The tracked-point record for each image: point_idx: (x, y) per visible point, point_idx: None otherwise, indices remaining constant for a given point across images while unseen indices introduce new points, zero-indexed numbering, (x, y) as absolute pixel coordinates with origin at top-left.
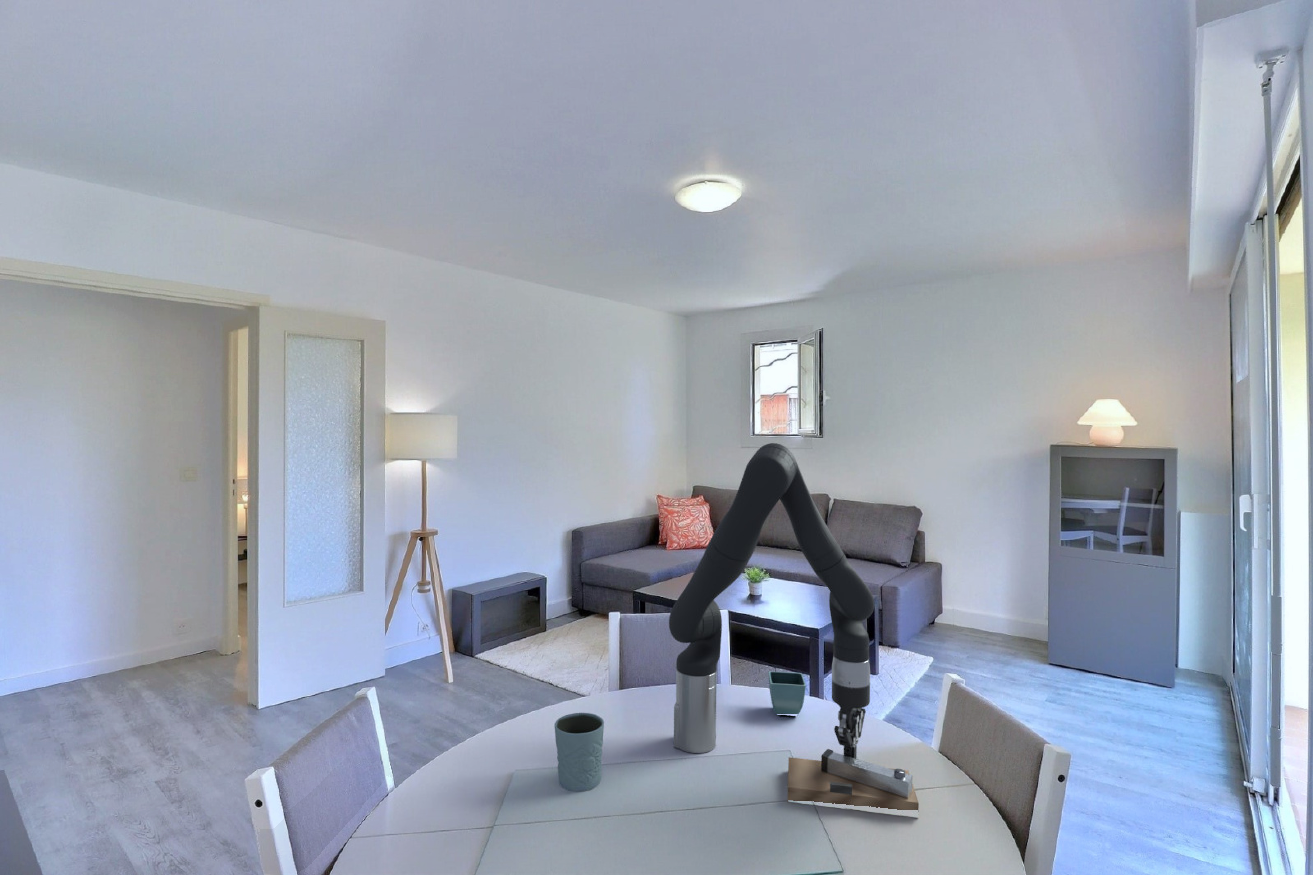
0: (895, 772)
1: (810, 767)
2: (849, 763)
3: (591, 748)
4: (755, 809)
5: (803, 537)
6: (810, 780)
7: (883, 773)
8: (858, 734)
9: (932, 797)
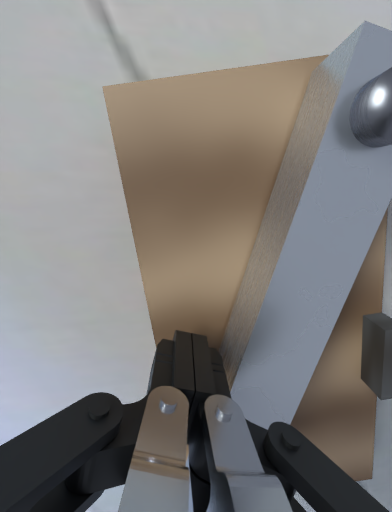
0: None
1: None
2: (305, 373)
3: None
4: (386, 482)
5: None
6: (318, 435)
7: (372, 209)
8: (116, 428)
9: (178, 7)
